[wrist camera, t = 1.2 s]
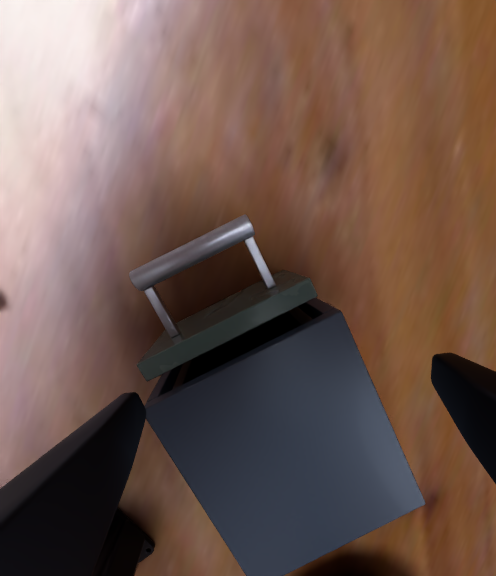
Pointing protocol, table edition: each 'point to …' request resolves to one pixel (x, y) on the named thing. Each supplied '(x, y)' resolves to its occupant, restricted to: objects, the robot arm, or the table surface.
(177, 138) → the table surface
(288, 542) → the cabinet
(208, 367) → the drawer
